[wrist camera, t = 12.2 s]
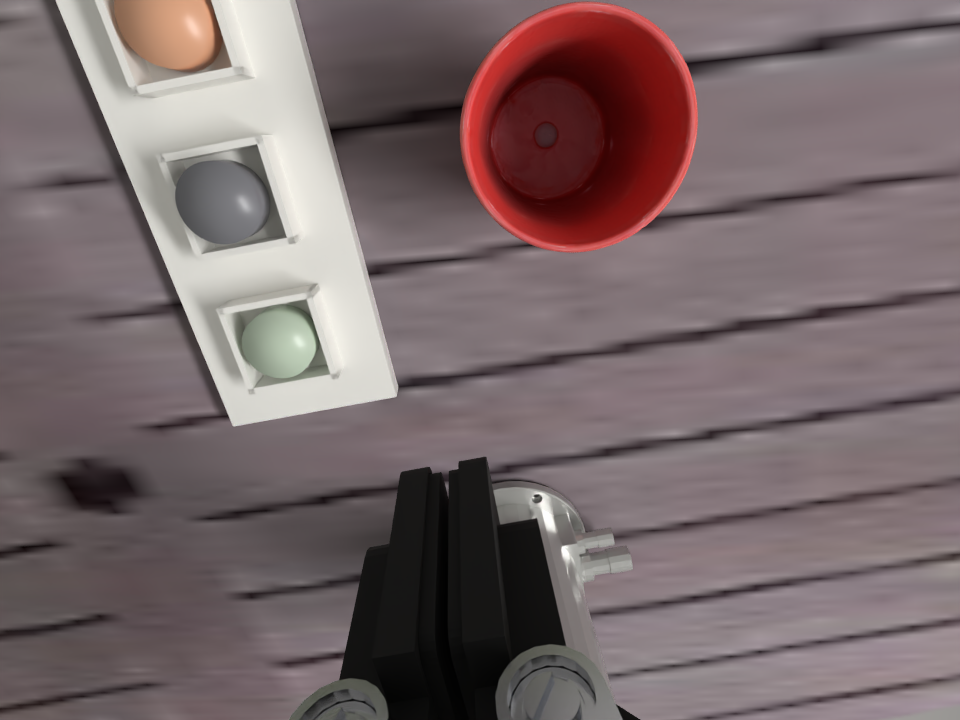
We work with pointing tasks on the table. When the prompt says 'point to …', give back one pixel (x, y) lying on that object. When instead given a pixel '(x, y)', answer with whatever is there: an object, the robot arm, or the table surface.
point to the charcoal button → (222, 201)
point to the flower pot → (579, 126)
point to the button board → (289, 181)
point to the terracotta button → (171, 32)
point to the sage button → (280, 341)
